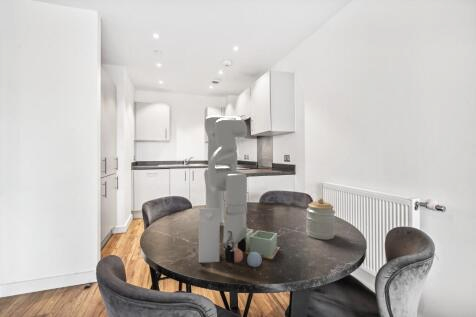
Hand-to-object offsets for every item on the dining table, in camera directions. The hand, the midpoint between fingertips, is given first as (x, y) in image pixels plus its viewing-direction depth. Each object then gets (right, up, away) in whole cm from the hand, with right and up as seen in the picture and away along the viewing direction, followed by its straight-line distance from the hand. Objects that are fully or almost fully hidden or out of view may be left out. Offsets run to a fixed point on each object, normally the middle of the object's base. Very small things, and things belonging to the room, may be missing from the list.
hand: (236, 256), depth 80 cm
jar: (+40, -2, +28) cm, 49 cm away
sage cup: (+11, -1, +8) cm, 13 cm away
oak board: (+6, -2, +10) cm, 12 cm away
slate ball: (+6, -2, -3) cm, 7 cm away
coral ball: (0, -2, 0) cm, 2 cm away
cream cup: (+2, -1, +12) cm, 12 cm away
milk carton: (-10, -2, +2) cm, 10 cm away
